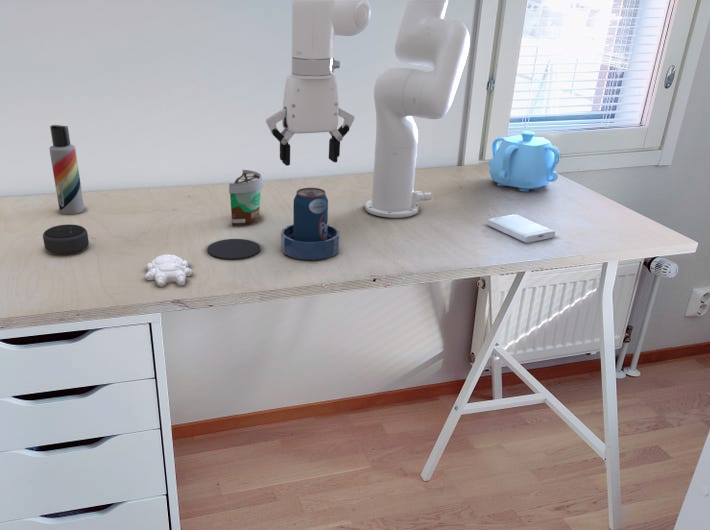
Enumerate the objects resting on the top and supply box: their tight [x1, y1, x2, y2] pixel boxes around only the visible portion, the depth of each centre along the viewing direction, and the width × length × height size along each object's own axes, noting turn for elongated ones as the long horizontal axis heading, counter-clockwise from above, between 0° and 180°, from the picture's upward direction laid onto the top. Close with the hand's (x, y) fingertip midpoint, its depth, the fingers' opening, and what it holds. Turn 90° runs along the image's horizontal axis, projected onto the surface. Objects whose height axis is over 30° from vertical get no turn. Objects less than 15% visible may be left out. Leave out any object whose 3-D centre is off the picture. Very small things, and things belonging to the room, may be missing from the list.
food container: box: [228, 169, 265, 227], centre depth 161 cm, size 12×6×10 cm, turn 168°
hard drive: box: [486, 213, 556, 244], centre depth 157 cm, size 2×8×12 cm
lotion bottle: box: [49, 124, 85, 215], centre depth 164 cm, size 6×6×20 cm
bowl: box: [280, 224, 340, 261], centre depth 146 cm, size 12×12×4 cm
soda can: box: [292, 187, 329, 242], centre depth 144 cm, size 7×7×12 cm
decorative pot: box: [488, 130, 561, 192], centre depth 184 cm, size 16×16×14 cm
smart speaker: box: [42, 223, 90, 256], centre depth 147 cm, size 9×9×4 cm
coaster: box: [206, 238, 261, 261], centre depth 147 cm, size 11×11×1 cm
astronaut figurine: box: [144, 254, 193, 288], centre depth 136 cm, size 9×12×3 cm
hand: (309, 162), depth 138 cm, fingers open, 9 cm apart
